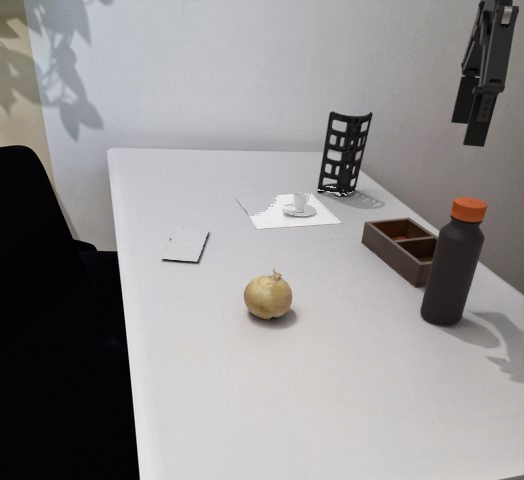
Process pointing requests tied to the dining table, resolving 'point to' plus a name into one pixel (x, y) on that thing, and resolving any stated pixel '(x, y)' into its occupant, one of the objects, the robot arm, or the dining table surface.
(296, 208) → the teacup and saucer
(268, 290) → the onion
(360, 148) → the holder
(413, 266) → the bottle holder
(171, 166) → the dining table surface
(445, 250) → the dark bottle
